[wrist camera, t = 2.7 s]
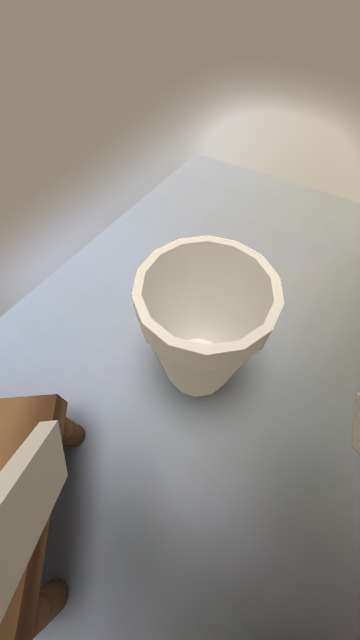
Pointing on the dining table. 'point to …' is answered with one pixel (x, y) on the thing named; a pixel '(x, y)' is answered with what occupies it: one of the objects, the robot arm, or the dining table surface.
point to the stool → (29, 600)
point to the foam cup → (206, 309)
